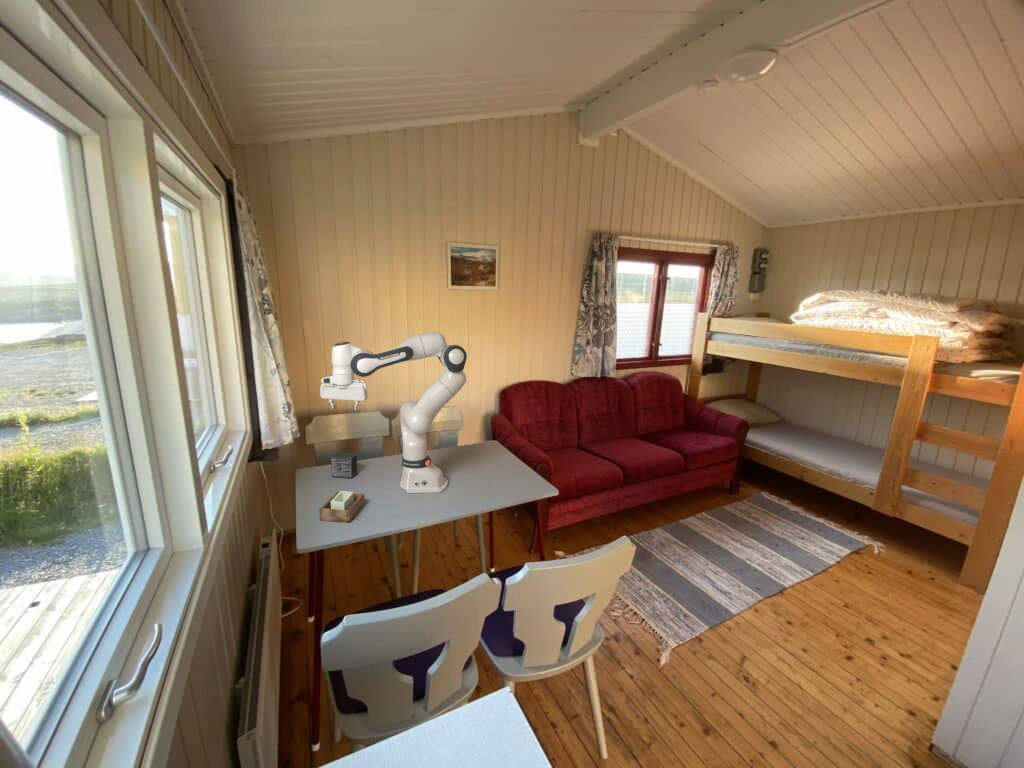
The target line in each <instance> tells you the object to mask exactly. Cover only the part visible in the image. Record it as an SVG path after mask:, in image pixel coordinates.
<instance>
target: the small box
mask: <svg viewBox="0 0 1024 768" xmlns="http://www.w3.org/2000/svg"><path fill="white" fill-rule="evenodd" d="M330 463H331V465H330V466H331V478H339V479H341V478H342V479H354V477H355V476H357V475H358V455H357V453H346V452H336V453H334V454H333V455H331V456H330Z"/></svg>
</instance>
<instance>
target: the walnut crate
mask: <svg viewBox="0 0 1024 768" xmlns="http://www.w3.org/2000/svg"><path fill="white" fill-rule="evenodd" d="M339 492H340V491H335V492H334V494H333V495H332V496H331V497H330V498H329V499H328V500H326V502H325V503H324V504H323V505H322V506H321V507H320V508H319V510H318V511H319V521H320V522H332V523H345V524H350V523H351V522H352V521H353V520H354V518H355V517H356V516H357V514H358V513H359V512H360V510H361V509H362V508H363V507H364V505H365V493H363V492H354V503H353V504H352V506H351V507H350V508H349V509H348V510H338V509H331V501H332V500H333V499H334V498H335V497H336V496H337V495H338V493H339Z"/></svg>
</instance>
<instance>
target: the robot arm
mask: <svg viewBox="0 0 1024 768" xmlns="http://www.w3.org/2000/svg"><path fill="white" fill-rule="evenodd" d="M430 357H437V359H438V360H439V361H440V363H441V365H442V366H443V367H444V368H445V370H444V372H443V373H442V374H441V376H439V377H438V378H437V379H436V380H435V381H434V382H432V384H431V385H430V386H429V387H428V388H426V389H425V391H424V392H423V395H422V396H421V398H420V399H419V400H418V402H417V401H413V400H412V401H411V400H408V401H406V402H403V404H402V405H401V406H400V409H399V417H400V418H399V419H400V429H401V439H402V456H401V469H402V472H401V478H400V482H399V487H400V488H402V489H403V490H405V491H406V493H408V494H422V493H423V494H425V493H426V494H428V493H429V494H430V493H431V494H432V493H442V492H443V491H445V490H446V489H447V487H448V485H449V480H448V478H447V477H445V476H444V473H443V471H442V469H441V468H439V467H438V466H436V465H435V464H434V463H432V455H431V456H429V455H428V438H427V432H428V431H429V430H430V429H431V426H432V423H433V422H434V420H435V418H436V417H437V415H438V414H439V412H440V411H441V410H442V409H443V408H444V407H445V406H446V405H447V404H448V403H449V402H450V401H451V400H452V398H454V397H455V396H456V395H457V394H458V393H459V392H460V391H461V389H462V388H463V387H464V385H465V384H466V383H467V376H466V373H465V372H464V369H465V365H466V363H467V358H468V356H467V351H466V350H465V349H464V348H463V346H461V345H458V344H448V343H447V340H446V338H445V336H444V335H443V333H441V332H439V331H438V332H437V331H434V332H433V331H432V332H426V333H420V334H415V335H412V336H410V337H408V338H405V339H403V341H402V342H401V343H400V344H399V345H398V346H397V347H395V348H393V349H389V350H385V351H382V352H379V353H378V352H377V353H373V352H372V351H371V350H369V349H365V348H362V347H359V346H357V345H355V344H354V343H352V342H350V341H342V342H338V343H337V342H336V343H335V344H334V345H333V346H332V348H331V365H332V371H331V374H330V375H327V376H325V377H322V378H321V380H320V382H321V384H320V388H319V395H320V396H319V397H320V398H321V399H322V400H328V403H330V406H331V409H332V410H333V409H334V410H336V409H337V408H338V406H337V404H336V403H335V400H336V401H337V400H338V401H339V400H340V401H354V403H355V404H354V405H353V406H352V411H357V410H358V406H359V404H360V403H361V402H365V401H366V400H367V399H368V390H367V389H368V385H367V384H368V383H367V382H366V381H365V380H363V379H355V375H356V376H358V377H361V378H366V377H370V376H372V375H373V374H374V373H375V372H377V371H378V370H380V369H382V368H386V367H389V366H393V365H395V364H399V363H403V362H408V361H417V360H422V359H426V358H430Z"/></svg>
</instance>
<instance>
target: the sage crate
mask: <svg viewBox="0 0 1024 768" xmlns="http://www.w3.org/2000/svg"><path fill="white" fill-rule="evenodd" d="M338 492H339V493H338V495H337V496H336V497H335V498H334V499H333V500H332V501H331V509H338V510H348V509H349V508H350V507H351V506H352V504H353V503H354V493H355V492H354V491H344V490H341V491H338Z"/></svg>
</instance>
